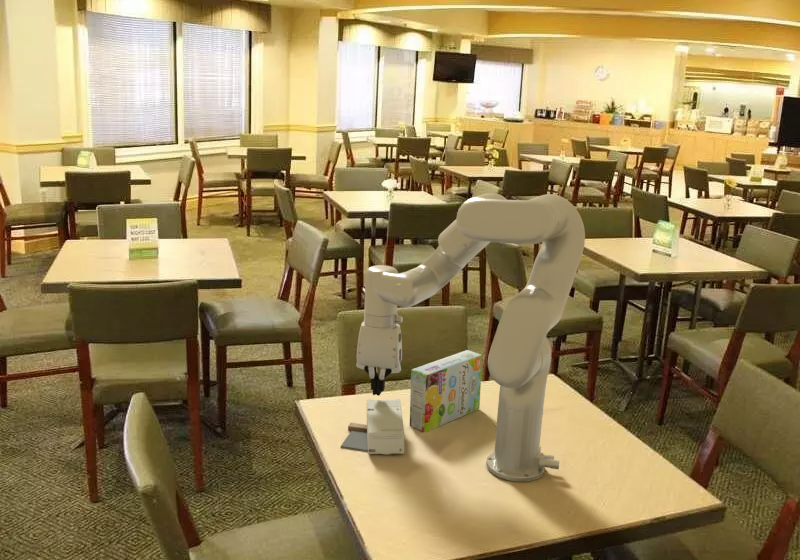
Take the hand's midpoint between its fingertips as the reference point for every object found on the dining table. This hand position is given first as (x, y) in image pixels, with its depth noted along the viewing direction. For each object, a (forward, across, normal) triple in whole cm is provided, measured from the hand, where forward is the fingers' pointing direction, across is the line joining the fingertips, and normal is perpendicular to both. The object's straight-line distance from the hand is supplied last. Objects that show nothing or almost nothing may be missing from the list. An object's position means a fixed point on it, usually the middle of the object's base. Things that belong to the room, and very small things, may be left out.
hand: (377, 392), depth 177 cm
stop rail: (+9, 0, +2) cm, 9 cm away
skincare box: (+5, -1, -1) cm, 5 cm away
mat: (+9, -1, +8) cm, 12 cm away
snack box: (+9, -15, -11) cm, 21 cm away
